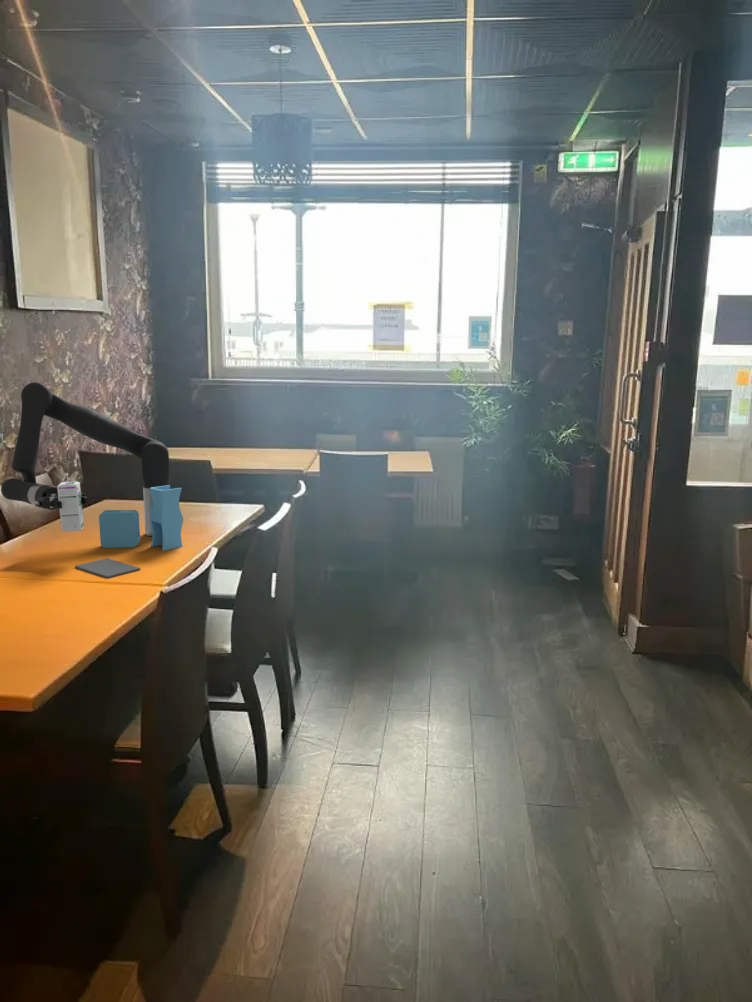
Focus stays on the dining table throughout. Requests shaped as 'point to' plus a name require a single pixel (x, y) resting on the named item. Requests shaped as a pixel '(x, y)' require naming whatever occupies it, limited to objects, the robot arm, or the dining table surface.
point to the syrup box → (70, 506)
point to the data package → (119, 528)
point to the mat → (107, 568)
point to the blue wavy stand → (166, 517)
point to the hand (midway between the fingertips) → (73, 502)
